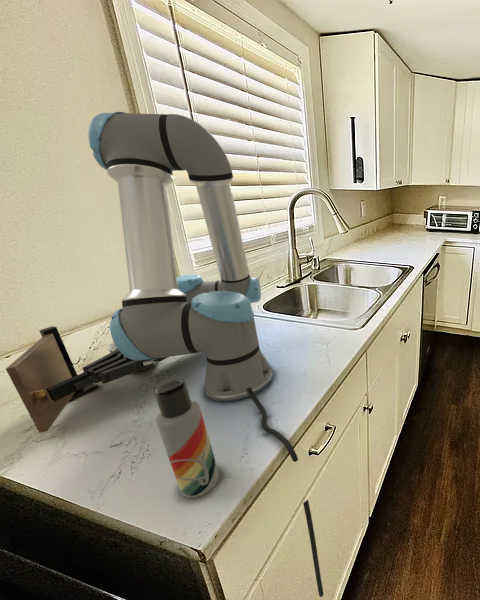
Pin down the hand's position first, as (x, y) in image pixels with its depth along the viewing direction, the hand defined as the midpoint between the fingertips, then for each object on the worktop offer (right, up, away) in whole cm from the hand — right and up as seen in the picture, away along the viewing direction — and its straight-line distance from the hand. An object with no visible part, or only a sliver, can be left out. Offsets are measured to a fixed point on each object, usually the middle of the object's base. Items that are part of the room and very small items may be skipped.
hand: (50, 394), depth 67 cm
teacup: (+1, +6, +23) cm, 24 cm away
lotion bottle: (+38, -12, -12) cm, 42 cm away
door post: (-6, -3, +12) cm, 14 cm away
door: (-2, -4, +5) cm, 7 cm away
